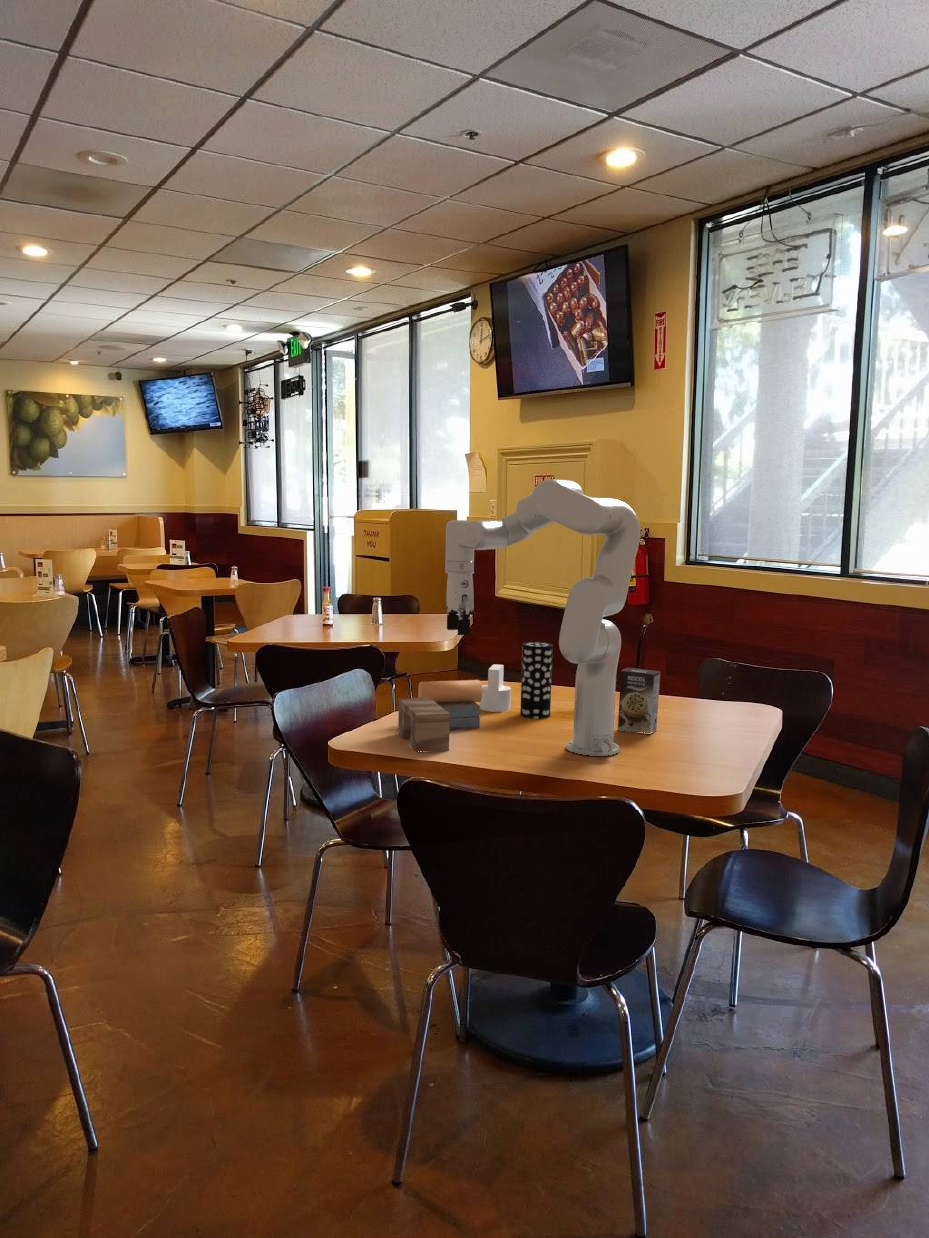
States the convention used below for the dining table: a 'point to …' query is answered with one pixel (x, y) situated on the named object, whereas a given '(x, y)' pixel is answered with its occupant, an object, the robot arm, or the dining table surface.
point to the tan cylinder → (451, 691)
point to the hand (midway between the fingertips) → (458, 632)
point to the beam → (424, 724)
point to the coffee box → (638, 700)
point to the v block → (462, 714)
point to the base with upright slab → (495, 691)
